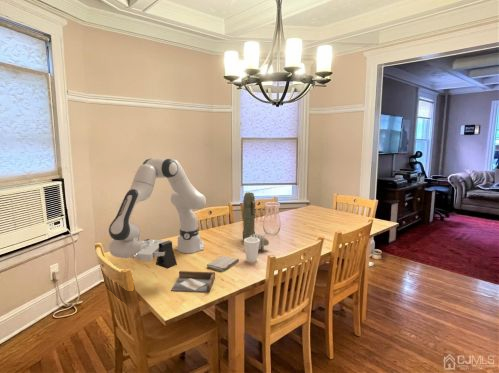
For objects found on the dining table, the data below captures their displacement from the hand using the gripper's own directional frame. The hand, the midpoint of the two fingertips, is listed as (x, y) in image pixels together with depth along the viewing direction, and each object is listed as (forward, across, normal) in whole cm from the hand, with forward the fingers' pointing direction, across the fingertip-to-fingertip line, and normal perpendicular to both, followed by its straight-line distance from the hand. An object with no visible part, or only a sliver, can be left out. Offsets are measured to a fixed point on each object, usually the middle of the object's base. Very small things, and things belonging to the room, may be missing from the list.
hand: (167, 251), depth 158 cm
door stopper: (-1, 0, +8) cm, 8 cm away
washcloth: (+22, +28, +19) cm, 41 cm away
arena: (+12, +2, +18) cm, 22 cm away
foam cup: (+38, +37, +18) cm, 56 cm away
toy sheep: (+38, +54, +18) cm, 69 cm away
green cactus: (+32, +71, +18) cm, 80 cm away
